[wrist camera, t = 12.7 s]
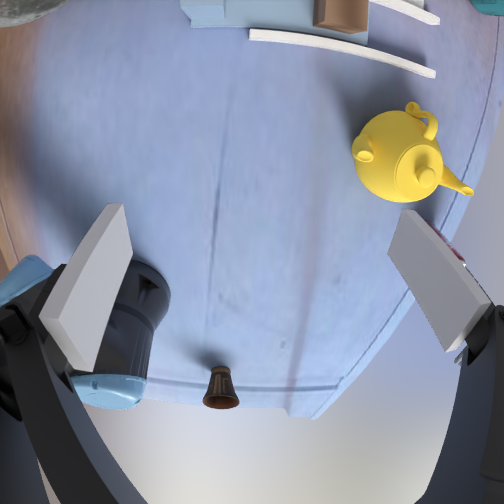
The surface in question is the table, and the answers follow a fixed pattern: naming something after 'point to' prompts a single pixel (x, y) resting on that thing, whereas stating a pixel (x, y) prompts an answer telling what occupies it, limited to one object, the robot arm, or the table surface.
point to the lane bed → (407, 3)
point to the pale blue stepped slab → (263, 16)
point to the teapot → (402, 156)
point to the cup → (220, 390)
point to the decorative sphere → (26, 10)
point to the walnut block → (341, 15)
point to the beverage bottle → (489, 7)
